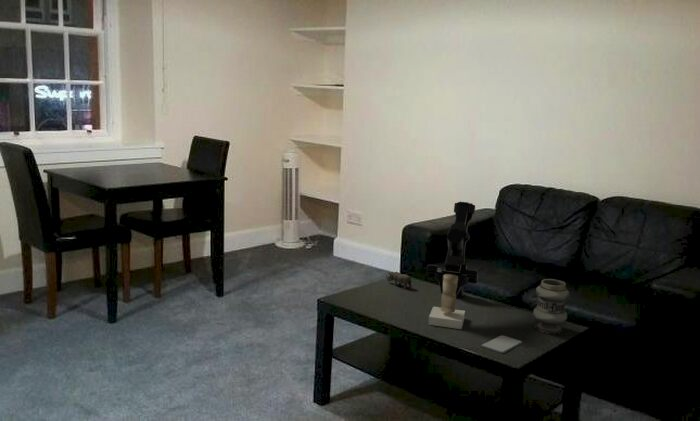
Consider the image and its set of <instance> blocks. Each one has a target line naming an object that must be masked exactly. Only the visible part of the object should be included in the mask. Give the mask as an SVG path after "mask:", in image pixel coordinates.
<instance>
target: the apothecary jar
mask: <svg viewBox="0 0 700 421" xmlns="http://www.w3.org/2000/svg"><path fill="white" fill-rule="evenodd" d="M566 285H567V284H566V282H565V281H563V280H558V279H555V278H554V279H553V278H545V279H542V280H541V281H540V284H539V285H537V287H536V289H535V295H537V305H536V307H534V309H533V310H532V311H533V312H532V314H533V316H534V318H535V319H536V320H537V321H539V322H538V323H536V324H535V325H534V329H536V330H538V332H541V333H544V332H545V333H544V334H549V333H559V334H561V333H563V329H562V327H561V326H559V325H561V324H563V323H565V321H567V319H568V313H567V311H566V309H565V307H566V300H567V299H568V298H570V291H569V289H567V288H566V287H567V286H566ZM560 332H561V333H560Z"/></svg>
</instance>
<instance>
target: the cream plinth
mask: <svg viewBox="0 0 700 421" xmlns="http://www.w3.org/2000/svg"><path fill="white" fill-rule="evenodd" d="M429 313H430V314H429V315H428V323H427V325H428V326H436V327H442V328H451V329H457V330H462V329H463V325H464V322H465V315H466V311H465V310H463V309H461V310H460V309H455V312H451V313H448V312H443V311H441V306H440V307H439V306H432V309H431V311H430V312H429Z"/></svg>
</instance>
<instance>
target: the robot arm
mask: <svg viewBox="0 0 700 421" xmlns="http://www.w3.org/2000/svg"><path fill="white" fill-rule="evenodd" d="M453 213H455V214H454V216H455V221H454V223H453V224H451V225H450V228H449V229H450V230H447V233H446V241H447V247H448V248H447V255H445V261H444V264H443V265H444V269H443V268H441V267H440V268H439V267H438V265H437V264H430V263H429V264H427V266H426V268H425V269H426V270H425V272H426V277H427V278H429V279H434V280H435V281H437V283H438V285H439V290H440V294H441V295H442V289H443V277H444V275H445V274H453V275H456V276H458V282H457V290H456V299H460V298H463V297H466V296H467V294H466V293H464V286H465V285H469V284H477V283H478V280H479V279H478V278H479V275H478V274H479V272H478V270H477V269H471V268H470V269H469V268H468V265H467V262H466V261H465V260H466V255H465V253H466V252H465V251H466V244H467V242H468V241H469V240H470V234H469V231H468V229H469V228H468V227H469V224H470V223H471V222H472V220H473V216H474V215H475V213H476V205H475V204H473V203H472V202H468V201H467V202H466V201H458V202H455V203H454V206H453Z"/></svg>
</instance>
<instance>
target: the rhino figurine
mask: <svg viewBox="0 0 700 421" xmlns="http://www.w3.org/2000/svg"><path fill="white" fill-rule="evenodd" d="M388 274H389V275H385V276H386V279H387V282H391V281H392V282H393V281H394V284H393V286H394V287H397V286H402V285H403V287H402V288H401V289H402V290H406V289H408V290H413V288H412V278H411V277H410V276H409V275H408V274H402V273H400V272H398V271H392V272H388ZM407 286H408V288H407Z"/></svg>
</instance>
